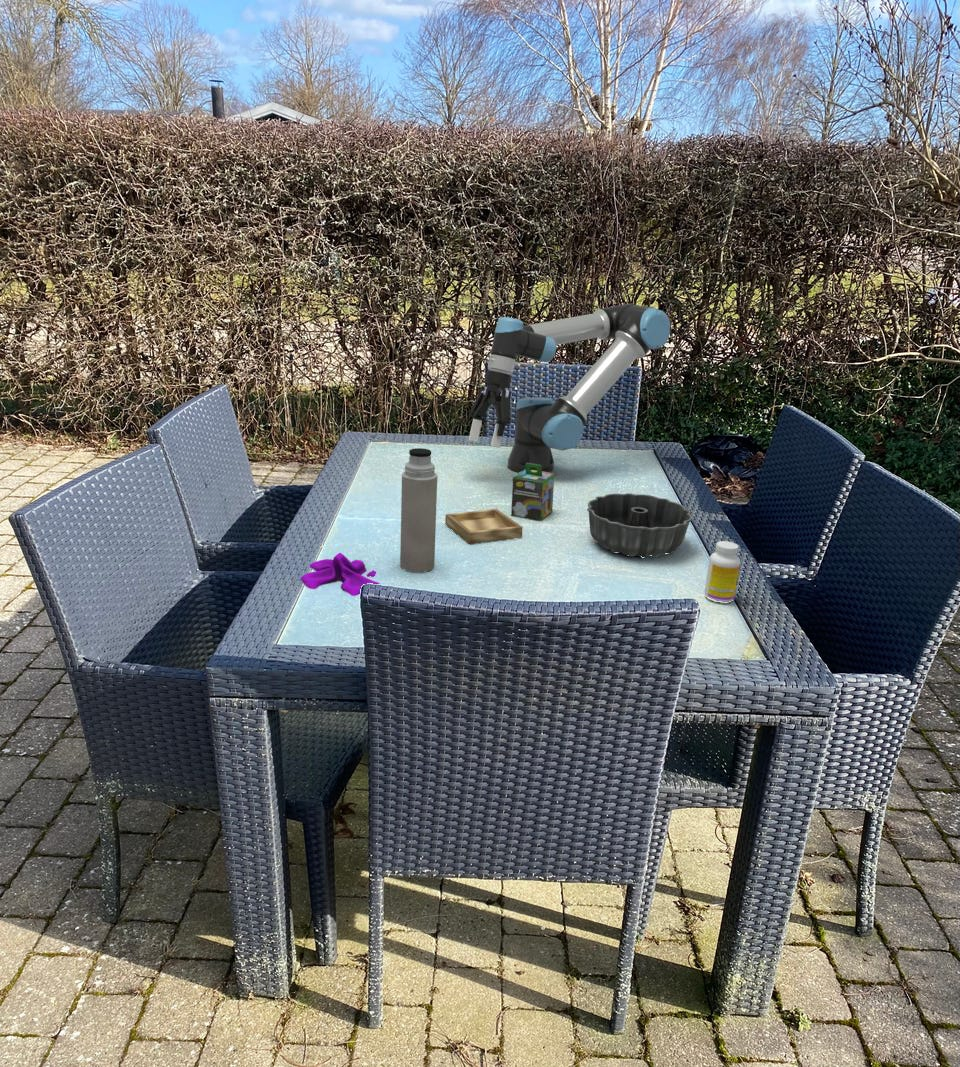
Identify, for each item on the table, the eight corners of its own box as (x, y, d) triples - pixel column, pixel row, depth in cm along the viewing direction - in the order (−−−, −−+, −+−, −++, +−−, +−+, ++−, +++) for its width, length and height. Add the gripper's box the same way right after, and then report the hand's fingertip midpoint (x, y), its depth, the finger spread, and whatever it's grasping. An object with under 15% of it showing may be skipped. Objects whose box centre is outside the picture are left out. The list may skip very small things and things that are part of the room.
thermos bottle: (408, 557, 213) (410, 443, 203) (439, 563, 211) (443, 448, 201) (394, 569, 206) (396, 451, 196) (426, 575, 204) (430, 456, 194)
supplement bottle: (738, 604, 197) (747, 550, 192) (709, 604, 196) (717, 550, 191) (728, 592, 203) (736, 539, 198) (700, 592, 202) (707, 539, 198)
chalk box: (552, 512, 250) (556, 461, 245) (540, 522, 242) (545, 469, 237) (522, 506, 253) (525, 456, 248) (509, 515, 245) (512, 464, 240)
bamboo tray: (495, 519, 242) (496, 508, 241) (521, 537, 229) (522, 527, 228) (445, 525, 236) (445, 514, 235) (469, 544, 223) (469, 533, 222)
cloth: (376, 599, 191) (377, 573, 189) (290, 594, 192) (290, 567, 190) (391, 561, 212) (391, 536, 210) (313, 556, 213) (313, 532, 210)
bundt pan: (679, 573, 213) (684, 533, 209) (572, 554, 221) (575, 516, 217) (694, 538, 236) (699, 502, 233) (596, 522, 244) (600, 487, 241)
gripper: (468, 366, 267) (453, 436, 269) (510, 371, 245) (494, 447, 248) (489, 372, 270) (474, 441, 273) (533, 377, 249) (516, 452, 252)
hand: (483, 444), depth 261 cm, fingers open, 13 cm apart
